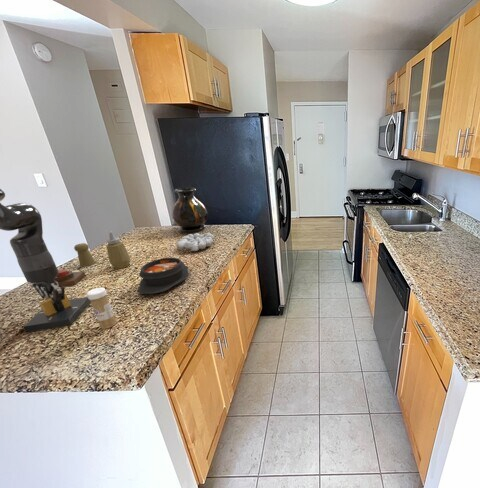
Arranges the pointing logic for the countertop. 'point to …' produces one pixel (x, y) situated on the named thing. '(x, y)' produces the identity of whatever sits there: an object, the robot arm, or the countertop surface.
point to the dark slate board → (58, 316)
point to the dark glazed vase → (189, 211)
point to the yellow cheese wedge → (49, 307)
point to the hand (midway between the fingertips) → (58, 309)
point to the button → (62, 272)
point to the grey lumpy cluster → (195, 241)
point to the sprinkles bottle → (102, 307)
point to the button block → (69, 278)
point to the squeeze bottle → (117, 252)
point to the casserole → (162, 275)
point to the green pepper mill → (84, 255)
